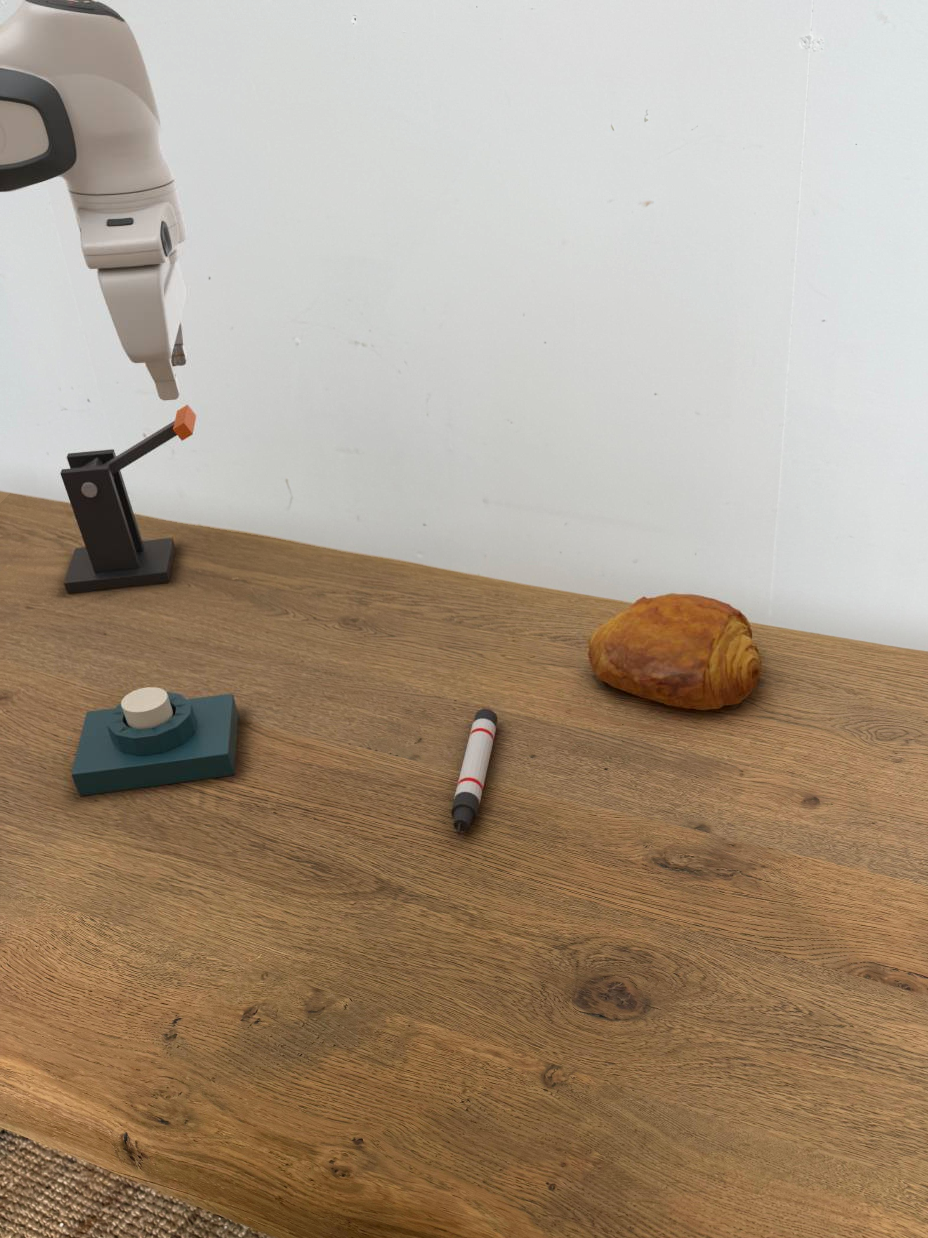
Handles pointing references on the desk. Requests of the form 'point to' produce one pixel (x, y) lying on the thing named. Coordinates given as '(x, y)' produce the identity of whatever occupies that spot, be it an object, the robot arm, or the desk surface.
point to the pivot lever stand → (109, 531)
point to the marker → (474, 770)
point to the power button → (147, 708)
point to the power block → (157, 746)
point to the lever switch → (153, 441)
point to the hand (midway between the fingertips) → (174, 380)
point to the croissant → (678, 652)
